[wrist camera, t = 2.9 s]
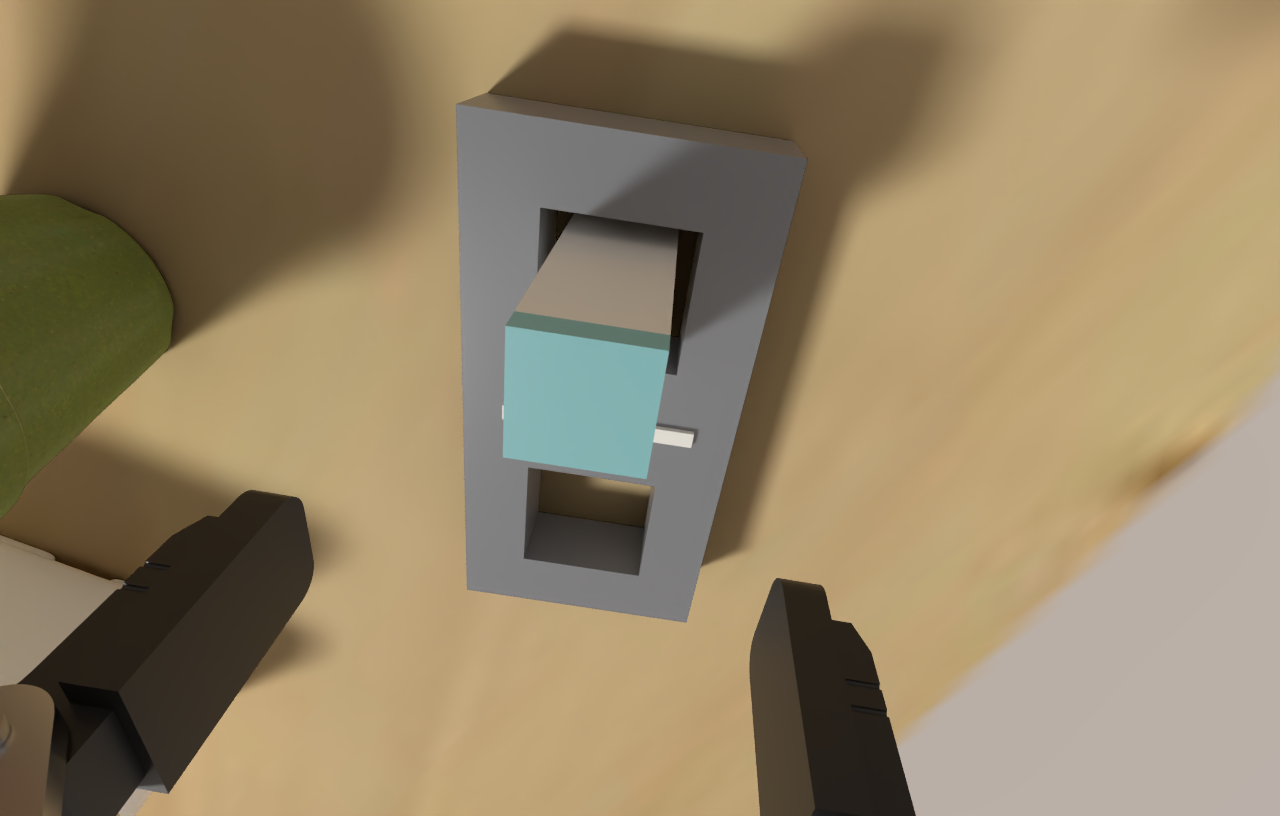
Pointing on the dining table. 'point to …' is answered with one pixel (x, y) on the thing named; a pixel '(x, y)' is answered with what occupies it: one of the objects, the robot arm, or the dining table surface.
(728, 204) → the socket board
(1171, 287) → the dining table surface
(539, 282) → the plug peg
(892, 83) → the dining table surface
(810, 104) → the dining table surface
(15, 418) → the plant pot
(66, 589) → the cable organizer
